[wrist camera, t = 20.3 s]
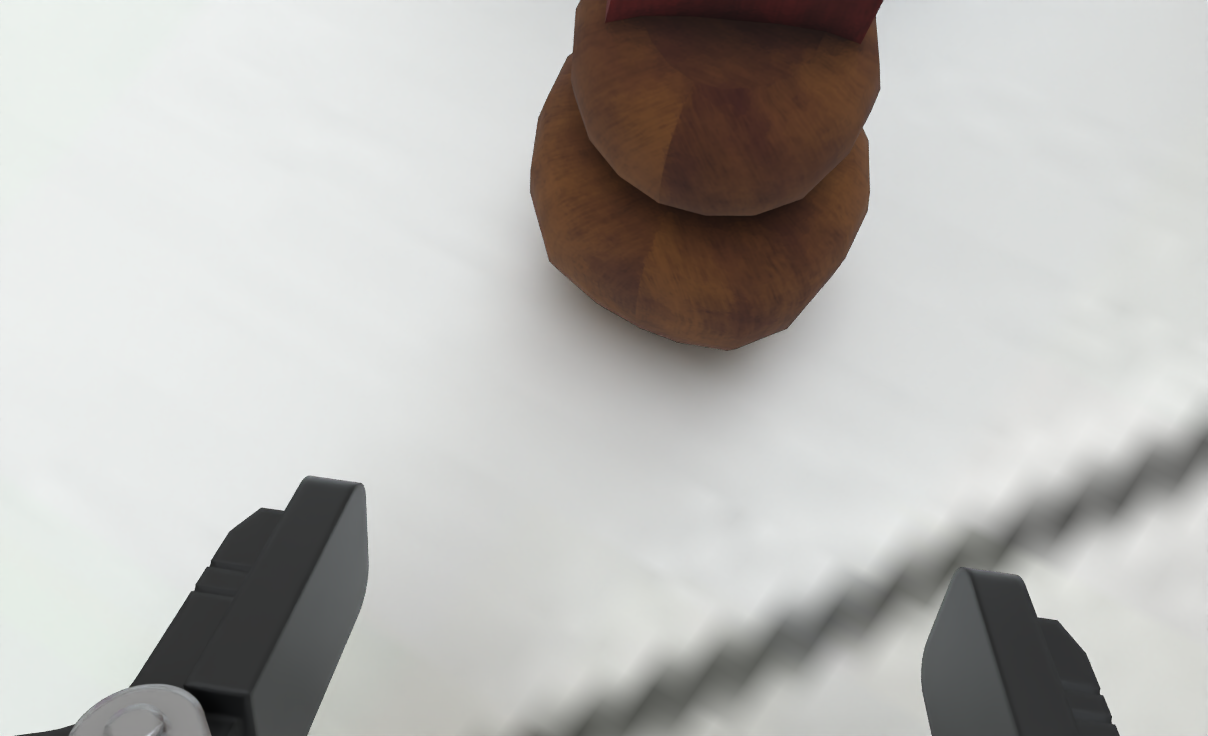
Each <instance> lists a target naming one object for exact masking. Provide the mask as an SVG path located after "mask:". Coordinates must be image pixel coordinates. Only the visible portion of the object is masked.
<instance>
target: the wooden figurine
mask: <svg viewBox="0 0 1208 736" xmlns="http://www.w3.org/2000/svg"><path fill="white" fill-rule="evenodd" d="M882 2H883V0H580V2H579V4H578V6H577V8H576V15H575V29H574V44H573V53H572V54H571V55H569V56H568V57H567V59H566V61H565V63H564V65H563V67H562V69H561V71H560V73H559V75H558V77H557V79H556V81H555V83H554V85H553V87H552V89H551V91H550V93H549V95H548V97H547V99H546V102H545V104H544V106H543V109H542V111H541V113H540V115H539V118H538V123H537V130H536V137H535V144H534V151H533V157H532V164H531V176H530V193H531V197H532V201H533V204H534V208H535V212H536V215H537V219H538V222H539V226H540V230H541V233H542V237H543V240H544V244H545V247H546V251H547V254H548V258H549V261H550V262H551V263H552V264H553V265H554V266H555V267H556V268H557V269H558V270H559V271H560V272H561V273H563V274H564V275H565V276H566V277H567V278H568V279H569V280H571V281H572V282H573V283H574V284H575V285H576V286H578V287H579V288H580V289H581V290H582V291H583V292H584V293H586V294H587V295H588V296H589V297H590V298H591V299H593V300H594V301H595V302H596V303H597V304H599V305H601V306H602V307H604V308H606V309H607V310H609V311H611V312H613V313H614V314H616V315H618V316H620V317H621V318H623V319H625V320H627V321H629V322H630V323H632V324H634V325H636V326H637V327H639V328H641V329H644V330H647V331H649V332H652V333H655V334H657V335H660V336H662V337H665V338H668V339H670V340H673V341H675V342H678V343H684V344H690V345H696V346H702V347H708V348H714V349H720V350H726V351H728V350H733V349H737V348H739V347H742V346H744V345H747V344H749V343H752V342H754V341H757V340H759V339H762V338H764V337H767V336H769V335H772V334H774V333H777V332H780V331H782V330H785V329H787V328H788V327H789V326H790V325H791V323H792V322H793V321H794V320H795V319H796V318H797V316H798V315H799V314H800V313H801V312H802V311H803V309H804V308H805V307H806V306H807V305H808V303H809V302H810V301H811V300H812V299H813V298H814V296H815V295H816V294H817V293H818V292H819V291H820V289H821V288H822V287H823V286H824V285H825V284H826V282H827V281H828V280H829V279H830V278H831V276H832V275H833V274H834V273H835V271H836V270H837V269H838V267H839V266H840V265H841V263H842V262H843V260H844V259H845V258H846V255H847V253H848V251H849V249H850V247H851V245H852V243H853V241H854V239H855V236H856V234H857V232H858V230H859V228H860V226H861V224H862V222H863V220H864V218H865V215H866V213H867V211H868V203H869V194H870V181H869V143H868V138H867V136H866V134H865V132H864V130H863V126H864V124H865V122H866V120H867V118H868V116H869V114H870V112H871V110H872V108H873V105H874V103H875V100H876V98H877V96H878V93H879V91H880V64H879V51H878V39H877V27H876V14H877V12H878V10H879V8H880V6H881V4H882Z"/></svg>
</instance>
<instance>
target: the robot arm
mask: <svg viewBox="0 0 1208 736" xmlns="http://www.w3.org/2000/svg"><path fill="white" fill-rule="evenodd" d="M368 569H369V561H368V537H367V514H366V494H365V488H364V485H363V484H362V483H357V482H350V481H343V480H336V479H329V478H322V477H315V476H307V477H305V478H304V479H303V480H302V482H301V483H300V485H299V487H298V488H297V490H296V492H295V494H294V495H293V497H292V499H291V500H290V502H289V504H288V506H287V507H286V509H285V511H281V510H274V509H267V508H260V509H259V510H258V511H256V512H255V513H254V514H252V515H251V516H249V517H248V518H247V519H245V520H244V521H243V522H241V523H240V524H239V525H237V526H236V527H235V528H233V529H232V530H231V531H230V532H229V533H228V535H227V536H226V538H225V539H224V541H223V543H222V544H221V546H220V547H219V549H218V550H217V552H216V554H215V555H214V557H213V558H212V560H211V564H210V567H207V568H206V569H205V571H204V572H203V574H202V575H201V577H200V579H199V580H198V582H197V583H196V586H195V590H194V591H191V593H190V594H189V596H188V597H187V599H186V601H185V602H184V604H183V605H182V607H181V608H180V610H179V611H178V613H177V615H176V616H175V618H174V619H173V621H172V622H171V624H170V626H169V627H168V629H167V630H166V632H165V633H164V635H163V637H162V638H161V640H160V641H159V643H158V644H157V646H156V648H155V649H154V651H153V652H152V654H151V655H150V657H149V658H148V660H147V662H146V663H145V665H144V666H143V668H142V669H141V671H140V673H139V674H138V676H137V677H136V679H135V680H134V682H133V683H132V684H131V686H130V687H129V688H127V689H124V690H121V691H119V692H116V693H114V694H112V695H110V696H108V697H106V698H104V699H103V700H101V701H100V702H98V703H97V704H95V705H94V706H93V707H91V708H90V709H89V710H88V711H87V712H86V713H85V714H84V715H83V716H82V717H81V718H80V719H79V720H78V722H77V723H76V724H74V725H71V726H68V727H64V728H61V729H57V730H52V731H46V732H39V733H32V734H24V735H17V736H307V734H308V732H309V730H310V727H311V725H312V723H313V720H314V718H315V716H316V713H317V711H318V709H319V706H320V704H321V701H322V699H323V697H324V694H325V692H326V690H327V687H328V685H329V683H330V680H331V678H332V676H333V673H334V671H335V669H336V666H337V664H338V661H339V659H340V657H341V654H342V652H343V650H344V647H345V645H346V643H347V640H348V638H349V636H350V633H351V631H352V629H353V626H354V624H355V621H356V619H357V617H358V614H359V612H360V609H361V606H362V603H363V600H364V596H365V592H366V586H367V580H368ZM921 683H922V692H923V697H924V702H925V706H926V711H927V715H928V720H929V725H930V729H931V734H932V736H1120V735H1119V733H1118V731H1117V728H1116V726H1115V725H1113V724H1112V722H1111V719H1112V716H1111V713H1110V711H1109V709H1108V706H1107V704H1106V701H1105V699H1104V696H1103V695H1100V687H1099V684H1098V682H1097V679H1096V677H1095V674H1094V672H1093V669H1092V667H1091V664H1090V662H1089V660H1088V657H1087V655H1086V653H1085V652H1084V651H1083V649H1082V648H1081V647H1080V646H1079V645H1078V644H1077V642H1076V641H1075V640H1074V639H1073V638H1072V637H1071V636H1070V634H1069V633H1068V632H1067V631H1066V630H1065V629H1064V627H1063V626H1062V625H1061V624H1060V623H1059V622H1058V621H1057V620H1051V619H1044V618H1037V615H1036V613H1035V610H1034V607H1033V604H1032V602H1031V599H1030V596H1029V594H1028V591H1027V588H1026V586H1025V583H1024V581H1023V580H1022V578H1021V577H1020V576H1018V575H1015V574H1008V573H1001V572H994V571H987V570H980V569H973V568H966V567H960V568H958V569H957V570H956V571H955V573H954V574H953V577H952V579H951V581H950V584H949V586H948V589H947V591H946V594H945V596H944V599H943V602H942V604H941V607H940V609H939V612H938V614H937V617H936V619H935V622H934V624H933V627H932V629H931V632H930V634H929V637H928V639H927V642H926V645H925V648H924V653H923V658H922V668H921Z"/></svg>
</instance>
